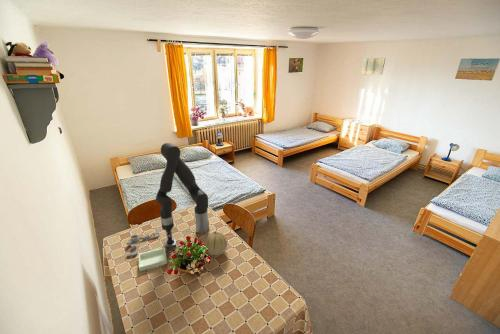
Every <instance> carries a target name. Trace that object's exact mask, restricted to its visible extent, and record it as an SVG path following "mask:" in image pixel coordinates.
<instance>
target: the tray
mask: <svg viewBox="0 0 500 334" xmlns="http://www.w3.org/2000/svg"><path fill="white" fill-rule="evenodd" d="M167 261H168V260H167V252H166V246H165V247H161V248H156V249H152V250H148V251H145V252H141V253H138V269H139V272H142V271H143V272H144V271H147V270H151V269H154V268H158V267H162V266H165V264H166V265H167V264H168V262H167Z"/></svg>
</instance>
